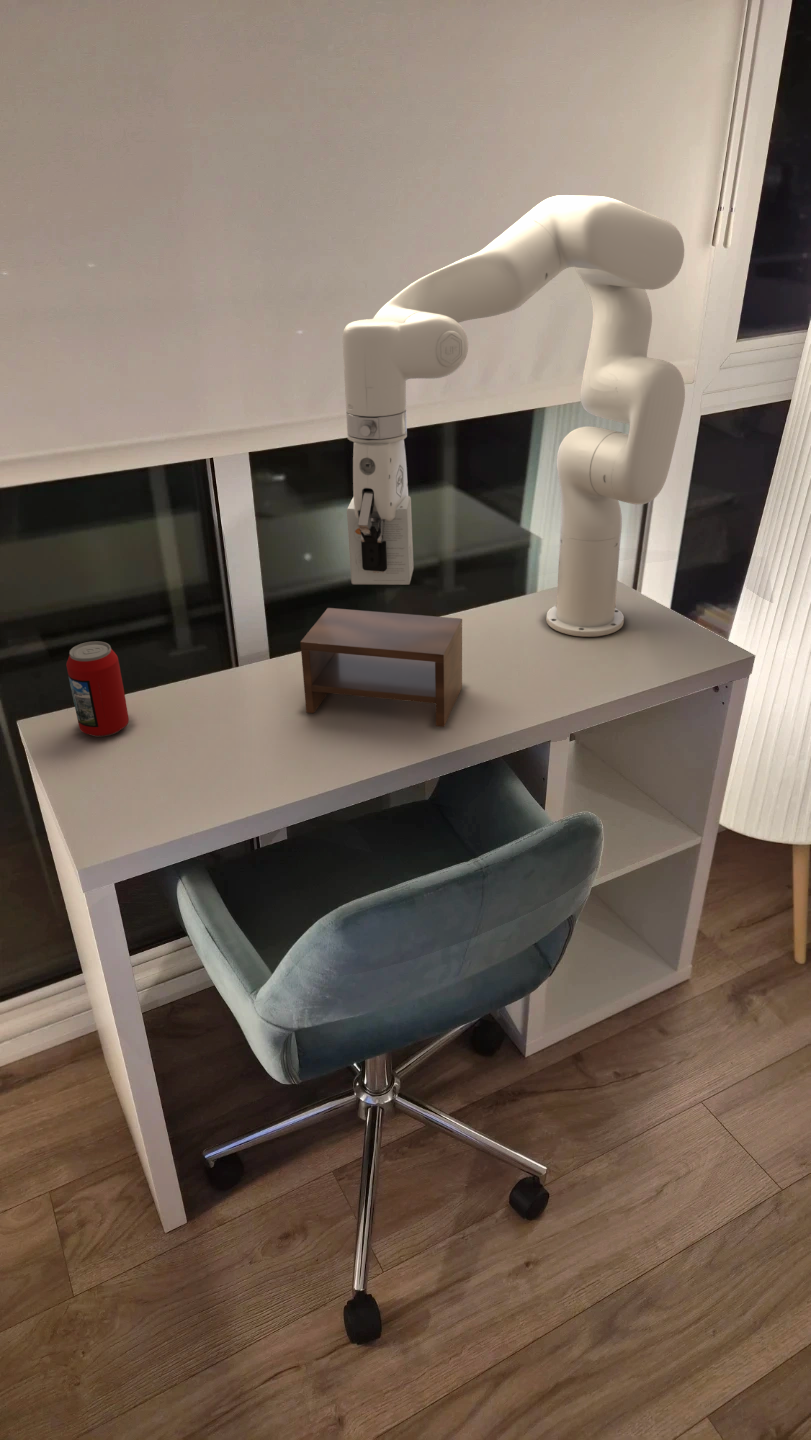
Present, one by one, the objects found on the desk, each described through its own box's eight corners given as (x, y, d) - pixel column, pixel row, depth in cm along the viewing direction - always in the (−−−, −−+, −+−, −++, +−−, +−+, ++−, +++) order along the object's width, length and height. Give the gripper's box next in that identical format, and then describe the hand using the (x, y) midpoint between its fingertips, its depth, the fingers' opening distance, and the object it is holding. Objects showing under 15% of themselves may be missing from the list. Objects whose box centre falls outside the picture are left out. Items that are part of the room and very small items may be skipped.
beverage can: (76, 722, 146) (60, 644, 140) (125, 712, 148) (111, 635, 142) (83, 744, 140) (67, 664, 134) (134, 733, 142) (120, 654, 137)
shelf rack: (332, 675, 157) (327, 607, 151) (462, 687, 152) (462, 618, 147) (306, 712, 146) (300, 641, 141) (444, 727, 142) (443, 654, 136)
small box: (414, 570, 142) (412, 495, 137) (410, 585, 137) (408, 508, 132) (356, 569, 143) (352, 495, 138) (350, 585, 138) (346, 508, 133)
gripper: (387, 443, 122) (392, 586, 131) (422, 410, 137) (424, 541, 145) (326, 441, 124) (335, 582, 133) (367, 408, 138) (372, 538, 147)
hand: (381, 559), depth 139 cm, fingers closed on small box, 6 cm apart
